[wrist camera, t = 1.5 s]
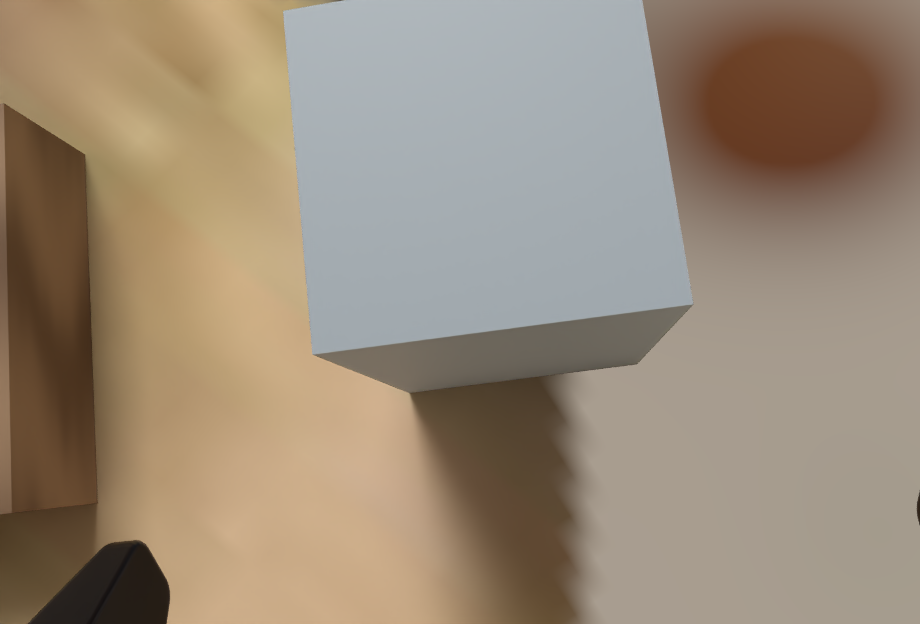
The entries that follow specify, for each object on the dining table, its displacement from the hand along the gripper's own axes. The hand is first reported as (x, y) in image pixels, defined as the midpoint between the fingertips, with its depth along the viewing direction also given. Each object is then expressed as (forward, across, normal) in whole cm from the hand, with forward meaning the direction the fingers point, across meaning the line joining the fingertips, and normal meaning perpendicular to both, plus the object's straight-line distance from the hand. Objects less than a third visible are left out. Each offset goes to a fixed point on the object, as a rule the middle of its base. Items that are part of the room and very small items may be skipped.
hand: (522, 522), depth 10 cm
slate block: (+12, 0, +4) cm, 13 cm away
